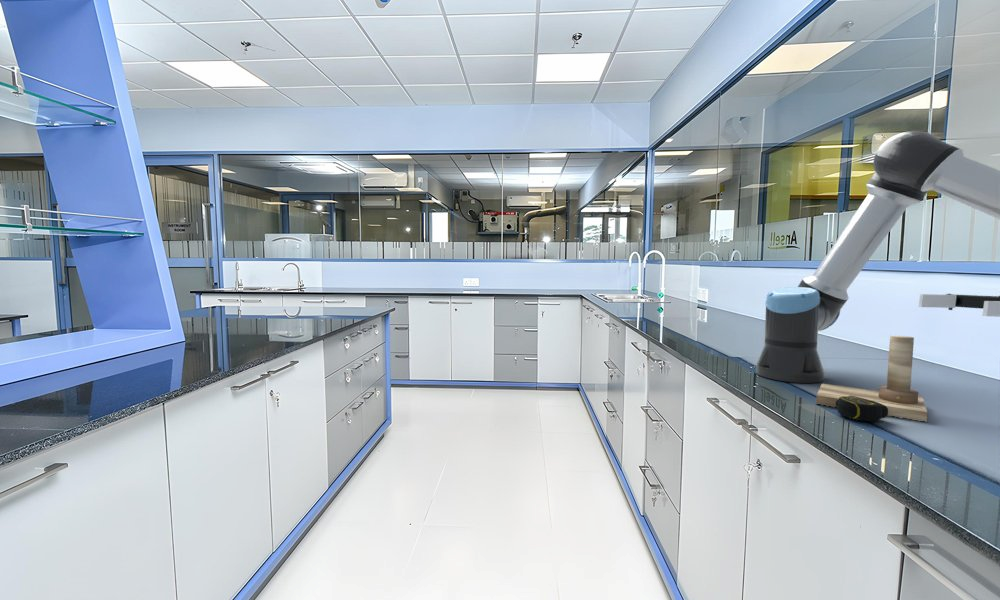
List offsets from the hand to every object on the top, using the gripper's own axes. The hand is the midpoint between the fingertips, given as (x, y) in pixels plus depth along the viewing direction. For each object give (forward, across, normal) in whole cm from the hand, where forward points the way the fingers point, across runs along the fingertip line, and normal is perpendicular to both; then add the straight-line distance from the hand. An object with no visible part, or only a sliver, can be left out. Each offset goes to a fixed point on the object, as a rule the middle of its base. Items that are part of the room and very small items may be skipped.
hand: (950, 304), depth 86 cm
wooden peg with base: (+7, +1, -20) cm, 21 cm away
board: (+11, +3, -22) cm, 25 cm away
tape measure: (+18, -4, -22) cm, 29 cm away
